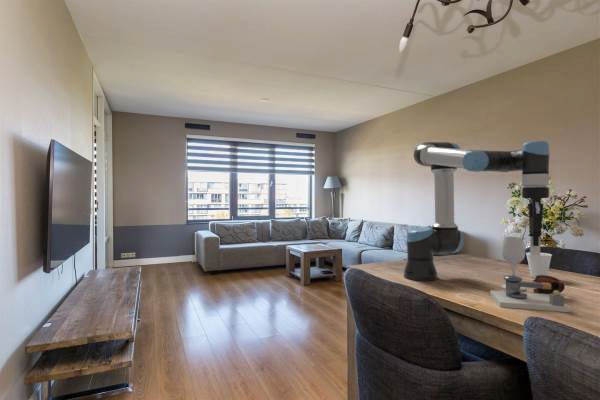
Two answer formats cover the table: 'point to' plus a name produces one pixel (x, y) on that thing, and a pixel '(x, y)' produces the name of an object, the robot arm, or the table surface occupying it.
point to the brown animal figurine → (552, 280)
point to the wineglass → (513, 253)
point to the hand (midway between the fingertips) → (535, 254)
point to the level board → (532, 301)
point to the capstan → (516, 282)
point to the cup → (539, 264)
